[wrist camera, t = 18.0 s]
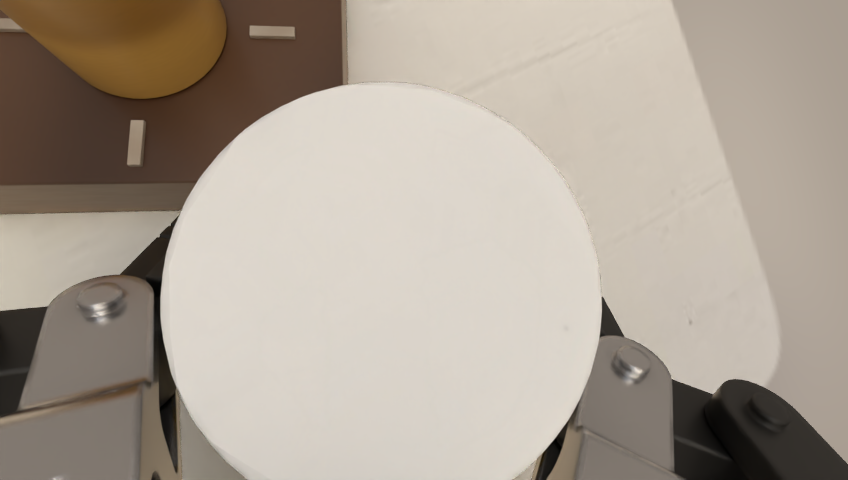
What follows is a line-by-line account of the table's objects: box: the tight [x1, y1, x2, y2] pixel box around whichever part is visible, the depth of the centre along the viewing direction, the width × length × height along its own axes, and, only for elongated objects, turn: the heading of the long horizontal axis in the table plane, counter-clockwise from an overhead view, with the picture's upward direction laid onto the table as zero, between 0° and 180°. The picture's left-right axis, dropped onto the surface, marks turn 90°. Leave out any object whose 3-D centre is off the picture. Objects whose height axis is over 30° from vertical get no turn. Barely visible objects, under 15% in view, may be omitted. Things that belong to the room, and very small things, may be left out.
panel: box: [0, 0, 348, 214], centre depth 14 cm, size 12×10×3 cm
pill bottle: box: [160, 82, 602, 480], centre depth 10 cm, size 6×6×11 cm
